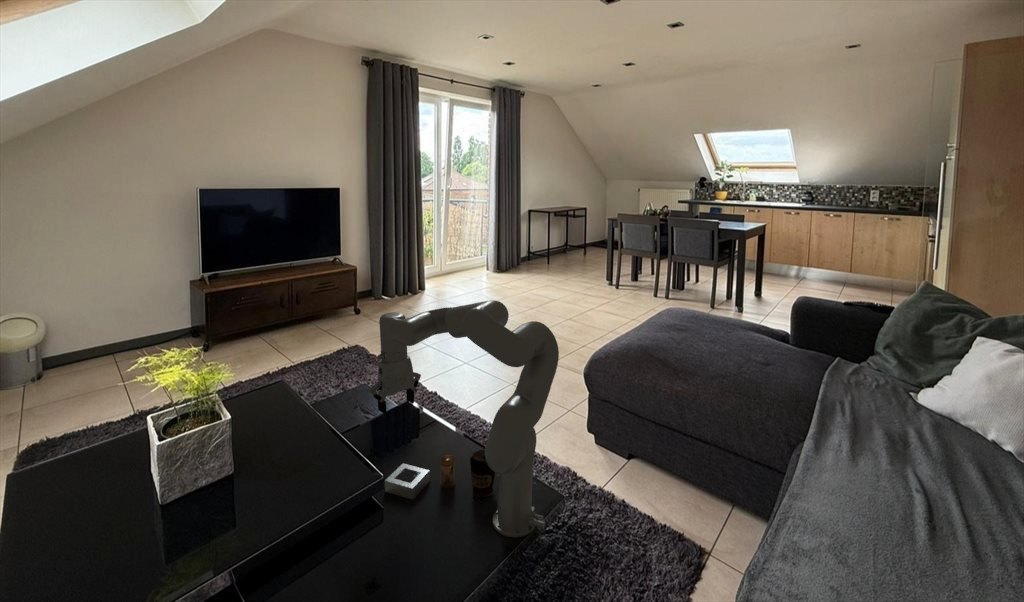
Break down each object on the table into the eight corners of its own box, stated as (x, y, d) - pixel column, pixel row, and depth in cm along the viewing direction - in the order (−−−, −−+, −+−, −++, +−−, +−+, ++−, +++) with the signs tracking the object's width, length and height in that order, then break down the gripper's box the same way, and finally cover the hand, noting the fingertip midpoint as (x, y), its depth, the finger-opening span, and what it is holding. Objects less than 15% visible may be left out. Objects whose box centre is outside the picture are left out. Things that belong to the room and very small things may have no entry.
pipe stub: (458, 481, 158) (458, 457, 156) (451, 490, 154) (450, 465, 151) (444, 477, 160) (444, 453, 158) (437, 486, 156) (436, 461, 153)
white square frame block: (429, 481, 158) (429, 470, 157) (412, 499, 149) (412, 488, 148) (403, 473, 162) (403, 463, 161) (385, 491, 153) (384, 480, 152)
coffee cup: (492, 502, 149) (493, 465, 145) (466, 498, 150) (466, 461, 147) (499, 485, 157) (499, 449, 154) (474, 481, 159) (474, 445, 155)
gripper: (374, 365, 137) (377, 421, 141) (426, 350, 148) (427, 402, 153) (361, 358, 142) (364, 411, 146) (412, 344, 153) (414, 394, 158)
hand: (396, 406), depth 149 cm, fingers open, 9 cm apart
